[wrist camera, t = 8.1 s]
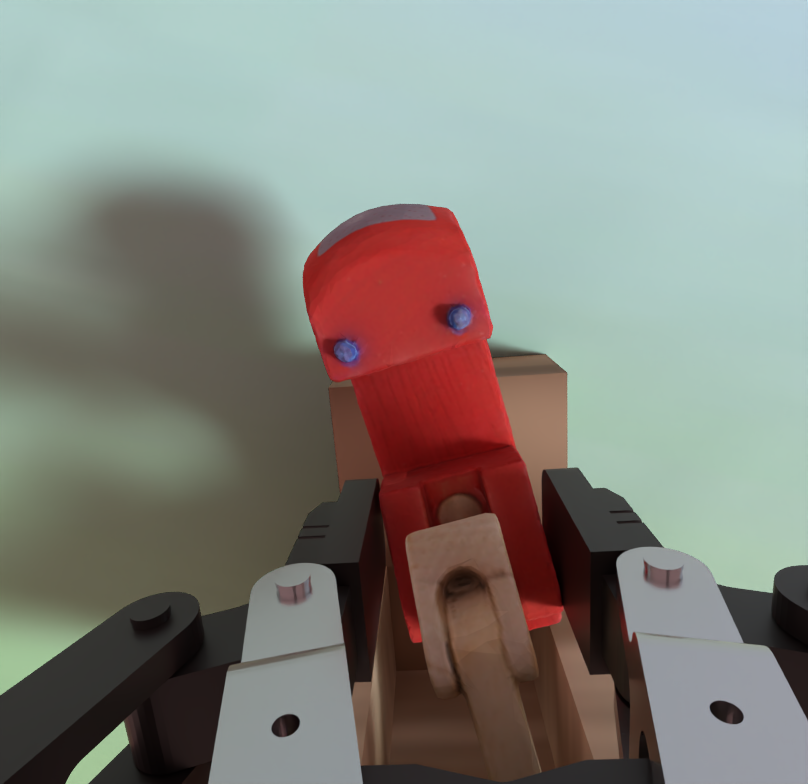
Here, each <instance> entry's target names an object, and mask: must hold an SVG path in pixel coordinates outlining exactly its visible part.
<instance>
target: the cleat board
mask: <svg viewBox="0 0 808 784" xmlns="http://www.w3.org/2000/svg"><path fill="white" fill-rule="evenodd" d="M492 361H493V365H494V368H495V373H496V377H497V379H498V383H499V387H500V391H501V394H502V398H503V402H504V405H505V408H506V412H507V415H508V418H509V422H510V426H511V429H512V434H513V438H514V441H515V445H516V449H517V451H518V452H519V454H520V456H521V457H522V459H523V461H524V462H525V464H526V467H527V472H528V476H529V479H530V483H531V486H532V490H533V494H534V497H535V500H536V504H537V507H538V513H539V516H540V519H541V524H542V485H541V480H542V472H543V470H544V469H560V468H567V372H566V371H565V370H563V369H562V368H561V367H560V366H559V365H557V364H556V363H555V362H554V361H553V360H552V359H550V358H549V357H548V356H547V355H546V354H542V355H527V356H511V357H496V358H492ZM328 389H329V398H330V407H331V416H332V425H333V434H334V443H335V452H336V461H337V470H338V479H339V488H340V494H341V491H342V488H343V485H344V482H345V480H356V479H374V478H378V480H379V484H380V487H381V483H382V480H383V476H382V472H381V469H380V466H379V463H378V460H377V458H376V455H375V452H374V449H373V446H372V442H371V439H370V437H369V434H368V431H367V428H366V425H365V422H364V419H363V416H362V413H361V411H360V408H359V405H358V402H357V397H356V394H355V392H354V387H353V385H352V382H351V379H349V380H345V381H342V382H334V381H333V382H332V384H331V385H330V386H329V388H328ZM383 525H384V523H383ZM384 536H385V548H386V570H385V578H384V586H383V594H382V602H381V610H380V617H379V625H378V633H377V641H376V649H375V656H374V664H373V672H372V680H371V682H355V683H354V689H353V695H352V704H353V712H354V719H355V727H356V735H357V742H358V750H359V758H360V765H361V766H363V765H402V764H418V765H423V766H427V767H432V768H436V769H441V770H446V771H450V772H455V773H460V774H464V775H469V776H473V777H478V778H483V779H487V780H489V778H488V774H487V771H486V767H485V763H484V760H483V756H482V752H481V749H480V745H479V742H478V738H477V735H476V731H475V728H474V724H473V721H472V717H471V714H470V711H469V708H468V705H467V702H466V699H465V697H464V696H463V694H462V693H461V694H460V695H459V696H457V697H456V698H452V699H448V700H443V699H441V698H437V696H436V694H435V691H434V689H433V686H432V684H431V681H430V677H429V672H428V668H427V664H426V659H425V654H424V649H423V643H422V642H418V643H413V642H412V641H411V638H410V635H409V631H408V628H407V624H406V622H405V618H404V614H403V610H402V606H401V601H400V598H399V591H398V586H397V581H396V577H395V573H394V566H393V563H392V559H391V555H390V551H389V545H388V541H387V537H386V532H385V527H384ZM563 609H564V607H563ZM561 614H562V618H561V621H560V622H559V623H557V624H553V625H550V626H545V627H541V628H537V629H533V630H530V631H529V633H530V637H531V640H532V644H533V647H534V651H535V655H536V659H537V664H538V669H539V676H538V678H536V679H534V680H533V681H528V682H522V683H520V684H519V691H520V696H521V700H522V703H523V707H524V711H525V714H526V718H527V721H528V725H529V729H530V732H531V736H532V740H533V743H534V747H535V750H536V753H537V757H538V760H539V764H540V767H541V771H542V772H545V771H548V770H552V769H556V768H559V767H563V766H566V765H570V764H573V763H577V762H580V761H584V760H598V759H619V750H618V741H617V732H616V723H615V715H614V681H613V678H612V676H611V674H605V675H590V674H589V672H588V669H587V666H586V664H585V661H584V659H583V656H582V654H581V651H580V648H579V646H578V643H577V641H576V638H575V636H574V633H573V630H572V628H571V625H570V623H569V620H568V618H567V615H566V612H565V610H563V611H562V612H561Z"/></svg>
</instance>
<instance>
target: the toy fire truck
mask: <svg viewBox="0 0 808 784" xmlns="http://www.w3.org/2000/svg"><path fill="white" fill-rule="evenodd" d="M303 290H304V297H305V302H306V308H307V313H308V316H309V320H310V323H311V326H312V329H313V332H314V335H315V337H316V342H317V345H318V348H319V350H320V353H321V356H322V359H323V362H324V365H325V368H326V371H327V374H328V376H329V378H330V380H332V381H334V382H342V381H345V380H349V379H351V382H352V385H353V387H354V392H355V394H356V397H357V402H358V405H359V408H360V411H361V413H362V416H363V419H364V422H365V425H366V428H367V431H368V434H369V437H370V439H371V442H372V446H373V449H374V452H375V455H376V458H377V460H378V463H379V466H380V469H381V472H382V476H383V480H382V483H381V487H380V492H379V501H380V509H381V513H382V518H383V523H384V527H385V532H386V537H387V541H388V545H389V551H390V555H391V559H392V563H393V566H394V573H395V577H396V581H397V586H398V591H399V598H400V601H401V606H402V610H403V614H404V618H405V622H406V624H407V628H408V631H409V635H410V638H411V641H412V642H413V643H418V642H422V643H423V649H424V654H425V659H426V664H427V668H428V672H429V677H430V681H431V684H432V686H433V689H434V691H435V694H436V696H437V698H441V699H443V700H448V699H452V698H456V697H457V696H459V695H460V694H461V693H462V694H463V696H464V697H465V699H466V702H467V705H468V708H469V711H470V714H471V717H472V721H473V724H474V728H475V731H476V735H477V738H478V742H479V745H480V749H481V752H482V756H483V760H484V763H485V767H486V771H487V774H488V778H489V780H492V781H498V782H508V781H513V780H517V779H520V778H524V777H527V776H531V775H534V774H538V773H541V772H542V771H541V767H540V764H539V760H538V757H537V753H536V750H535V747H534V743H533V740H532V736H531V732H530V729H529V725H528V721H527V718H526V714H525V711H524V707H523V703H522V700H521V696H520V691H519V684H520V683H522V682H528V681H533V680H534V679H536V678H538V676H539V669H538V664H537V659H536V655H535V651H534V647H533V644H532V640H531V637H530V633H529V631H530V630H533V629H537V628H541V627H545V626H550V625H553V624H557V623H559V622H560V621H561V618H562V614H561V612H562V611H563V610H564V609H563V604H562V598H561V592H560V587H559V583H558V580H557V577H556V571H555V569H554V566H553V562H552V558H551V554H550V551H549V548H548V545H547V539H546V536H545V533H544V529H543V526H542V524H541V519H540V516H539V513H538V507H537V504H536V500H535V497H534V494H533V490H532V486H531V483H530V479H529V476H528V472H527V467H526V464H525V462H524V461H523V459H522V457H521V456H520V454H519V452H518V451H517V449H516V445H515V441H514V438H513V434H512V429H511V426H510V422H509V418H508V415H507V412H506V408H505V405H504V402H503V398H502V394H501V391H500V387H499V383H498V379H497V377H496V373H495V368H494V365H493V361H492V357H491V353H490V349H489V346H488V343H487V339H488V338H490V337H491V335H492V330H493V325H492V322H491V319H490V315H489V311H488V306H487V303H486V300H485V296H484V293H483V289H482V286H481V283H480V280H479V276H478V271H477V268H476V264H475V261H474V258H473V256H472V253H471V250H470V248H469V246H468V244H467V241H466V239H465V237H464V234H463V232H462V230H461V228H460V226H459V224H458V221H457V219H456V217H455V216H454V214H453V212H451V211H450V210H449V209H447V208H442V207H434V206H428V205H421V204H396V205H388V206H381V207H377V208H374V209H370V210H367V211H364V212H362V213H359V214H357V215H355V216H353V217H352V218H350V219H348V220H347V221H345V222H343V223H342V224H340V225H339V226H338V227H337V228H335V229H334V230H333V231H332V232H330V233H329V234H328V235H327V236H326V237H325V238H324V239H323V240H322V241H321V242H320V243H319V244H318V246H317V247H316V248H315V249H314V250H313V251H312V252H311V254H310V255H309V257H308V259H307V261H306V263H305V265H304V271H303Z"/></svg>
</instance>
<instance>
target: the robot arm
mask: <svg viewBox="0 0 808 784" xmlns="http://www.w3.org/2000/svg"><path fill="white" fill-rule="evenodd" d="M541 485H542V526H543V529H544V533H545V536H546V539H547V545H548V548H549V551H550V554H551V558H552V562H553V566H554V569H555V571H556V577H557V580H558V583H559V587H560V592H561V598H562V604H563V607H564V610H565V612H566V615H567V618H568V620H569V623H570V625H571V628H572V630H573V633H574V636H575V638H576V641H577V643H578V646H579V648H580V651H581V654H582V656H583V659H584V661H585V664H586V666H587V669H588V672H589V674H590V675H605V674H611V676H612V678H613V681H614V715H615V723H616V732H617V741H618V750H619V759H598V760H584V761H580V762H577V763H573V764H570V765H566V766H563V767H559V768H556V769H552V770H548V771H545V772H541V773H538V774H534V775H531V776H527V777H524V778H520V779H517V780H513V781H508V782H498V781H492V780H487V779H483V778H478V777H473V776H469V775H464V774H460V773H455V772H450V771H446V770H441V769H436V768H432V767H427V766H423V765H418V764H402V765H363V766H361V765H360V758H359V750H358V742H357V735H356V727H355V719H354V712H353V704H352V695H353V689H354V683H355V682H371V680H372V672H373V664H374V656H375V649H376V641H377V633H378V625H379V617H380V610H381V602H382V594H383V586H384V578H385V570H386V548H385V536H384V525H383V518H382V513H381V509H380V501H379V492H380V484H379V480H378V478H374V479H356V480H345V482H344V485H343V488H342V491H341V494H340V496H339V499H338V502H324V503H321V504H320V505H319V506H318V507H316V508H315V509H314V510H313V511H311V512H310V513H309V514H308V516H307V518H306V520H305V523H304V525H303V529H301V531H300V534H299V536H298V539H297V540H296V542H295V545H294V547H293V549H292V551H291V553H290V556H289V558H288V560H287V562H286V564H285V566H283V567H280V568H278V569H275V570H273V571H271V572H269V573H267V574H266V575H264V576H263V577H261V578H260V579H259V580H258V581H257V582H256V583H255V584H254V586H253V588H252V590H251V594H250V601H249V603H248V604H245V605H243V606H240V607H237V608H233V609H229V610H225V611H221V612H217V613H213V614H209V615H205V616H201V612H200V607H199V603H198V600H197V599H196V598H195V597H194V596H192V595H190V594H187V593H182V592H166V593H160V594H156V595H152V596H148V597H146V598H143V599H140V600H138V601H136V602H133V603H132V604H130V605H128V606H126V607H124V608H123V609H121V610H120V611H118V612H117V613H116V614H114V615H113V616H111V617H110V618H109V619H107V620H106V621H104V622H103V623H102V624H100V625H99V626H97V627H96V628H95V629H93V630H92V631H90V632H89V633H87V634H86V635H85V636H83V637H82V638H80V639H79V640H78V641H76V642H75V643H73V644H72V645H71V646H69V647H68V648H66V649H65V650H64V651H62V652H61V653H59V654H58V655H57V656H55V657H54V658H52V659H51V660H50V661H48V662H47V663H45V664H44V665H43V666H41V667H40V668H38V669H37V670H35V671H34V672H33V673H31V674H30V675H28V676H27V677H26V678H24V679H23V680H21V681H20V682H19V683H17V684H16V685H14V686H13V687H12V688H10V689H9V690H7V691H6V692H5V693H3V694H2V695H0V784H65V783H66V781H67V779H68V777H69V775H70V774H71V772H72V771H73V769H74V768H75V767H76V765H77V764H78V763H79V762H80V761H81V760H82V759H83V758H84V757H85V756H86V755H87V754H88V753H89V752H90V751H91V750H92V749H94V748H95V747H96V746H97V745H98V744H99V743H100V742H101V741H102V740H103V739H104V738H105V737H106V736H108V735H109V734H110V733H111V732H112V731H113V730H114V729H115V728H116V727H117V726H118V725H119V724H120V723H122V722H123V721H124V723H125V728H126V732H127V736H128V740H129V744H128V745H127V746H126V747H125V748H124V749H123V750H122V751H121V752H120V753H119V754H118V755H117V756H116V757H115V758H114V759H113V760H112V761H111V762H110V763H109V764H108V765H107V766H106V767H105V768H104V769H103V770H102V771H101V772H100V773H99V774H98V775H97V776H96V777H95V778H94V779H93V780H92V781H91V782H90V783H89V784H808V565H799V566H791V567H787V568H784V569H782V570H780V571H779V572H777V573H776V575H775V577H774V586H773V593H767V592H760V591H753V590H746V589H738V588H732V587H726V586H722V585H718V584H716V581H715V579H714V577H713V575H712V573H711V571H710V570H709V568H708V567H707V566H706V565H705V564H704V563H702V562H701V561H700V560H698V559H696V558H694V557H692V556H690V555H688V554H686V553H683V552H680V551H676V550H673V549H668V548H664V547H663V546H662V545H661V544H660V542H659V541H658V540H657V539H656V537H655V536H654V535H653V534H652V532H651V531H650V530H649V529H648V528H647V526H646V525H645V524H644V523H642V521H641V519H640V518H639V516H638V515H637V514H636V513H635V512H633V509H632V508H631V507H630V505H629V504H628V503H627V502H626V500H625V499H624V498H623V497H621V496H619V495H617V494H615V493H614V492H612V491H610V490H608V489H606V488H594V489H593V488H592V487H591V485H590V484H589V482H588V481H587V480H586V478H585V477H584V475H583V474H582V472H581V471H580V470H579V468H560V469H544V470H543V472H542V480H541Z"/></svg>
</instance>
